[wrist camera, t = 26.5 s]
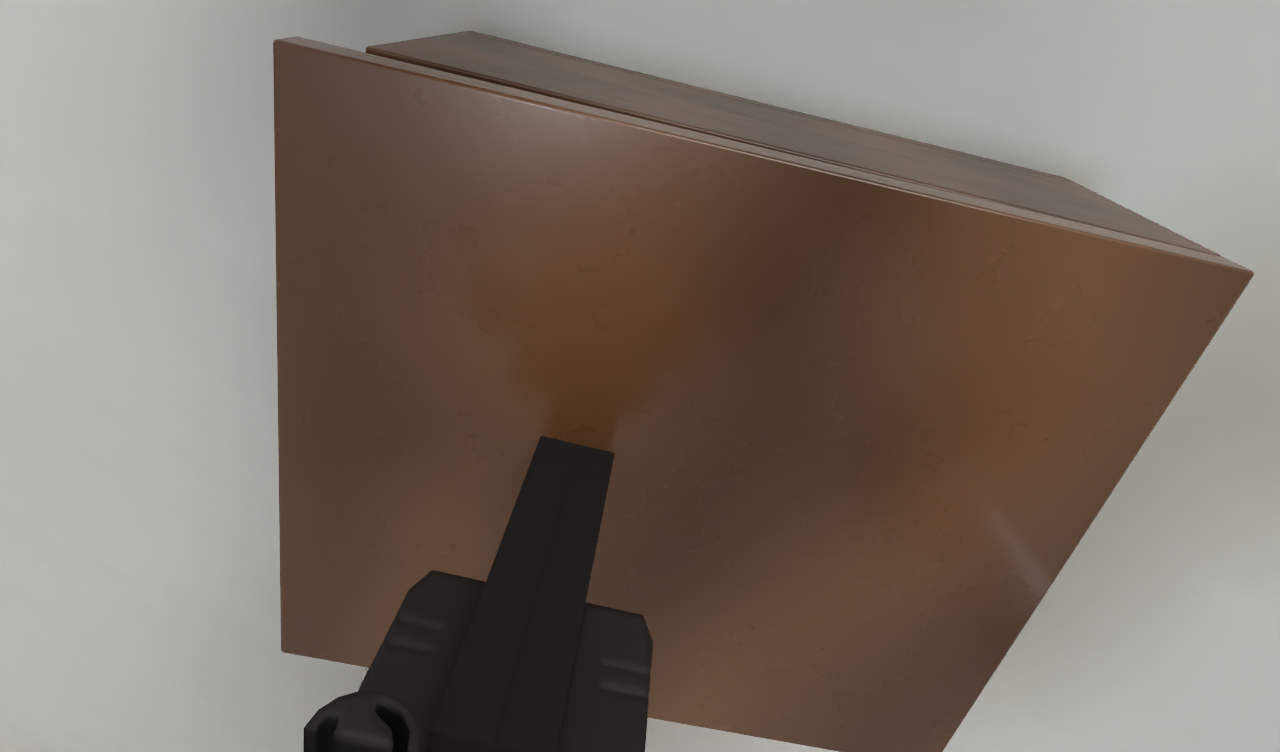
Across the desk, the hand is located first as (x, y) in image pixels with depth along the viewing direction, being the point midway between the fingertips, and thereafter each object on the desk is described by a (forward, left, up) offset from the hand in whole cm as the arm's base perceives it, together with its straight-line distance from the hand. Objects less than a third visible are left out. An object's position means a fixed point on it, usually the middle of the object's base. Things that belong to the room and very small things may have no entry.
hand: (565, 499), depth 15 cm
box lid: (-2, 0, -2) cm, 3 cm away
